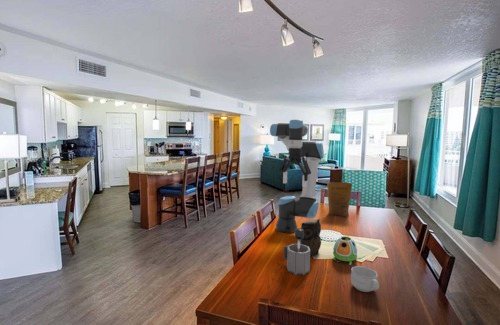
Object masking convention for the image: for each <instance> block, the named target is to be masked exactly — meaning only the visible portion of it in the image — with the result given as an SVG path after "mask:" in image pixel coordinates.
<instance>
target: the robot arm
mask: <svg viewBox="0 0 500 325" xmlns="http://www.w3.org/2000/svg"><path fill="white" fill-rule="evenodd" d="M308 132H309V128H308V126H307V125H306V124H304V120H302V119H290V120H289V123H272V124H271V125H270V128H269V134H270V135H271V137H277V138H278V139H279V140H280V141H281V142H282V143H283V145H284V146H285V147H286V150H287V151H288V154H286V155H284V156H283V157H284V158H283V161H282V163H281V165H280V168H279V171H281V172H282V174H281V175H282V184H288V170H289V168H290V167H291V166H292V165H297V166H298V168H299V169H300V170H301V172H302V181H301V182H302V184H301V186H302V189H301V190H302V191H301V195H300V196H299V197H298V199H297V197H296V196H292V195H287V196H282V197H280V198H279V201H278V218H277V221H276V224H275V230H276V231H278V232H280V233H285V234H286V233H287V234H290V233H295V229H296V228H298V224H297V221H296V217H299V218H305V219H314V218H315V217H316V216H317V214H318V210H319V202H318V201H317V197H315V194H316V188H317V187H316V186H317V185H316V184H317V178H318V177H317V176H318V168H319V163H320V162H321V160H322V159H324V156H325V151H324V150H325V149H324V144H323V142H321V141H306V140H305V141H303V137H305V136H307V135H308Z"/></svg>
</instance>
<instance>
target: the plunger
mask: <svg viewBox="0 0 500 325" xmlns="http://www.w3.org/2000/svg"><path fill="white" fill-rule="evenodd" d="M303 238H304V229H301V227H300V228H299V227H297V228H296V229H295V232H294V239H295V240H296V239H297V244H298V250H297V252H300V239H303Z"/></svg>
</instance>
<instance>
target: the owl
mask: <svg viewBox="0 0 500 325" xmlns="http://www.w3.org/2000/svg"><path fill="white" fill-rule="evenodd" d="M300 228H301V229H304V238H303V239H300V244H303V245H306V246H308V247H309V248H310V258H312V257H315V256H318V255H319V251H320V249H321V245H322V240H321V239H322V237H321V235H320V234H321V231H322V226H321V223H320V218H316V219H311V220H307V221H304V222H302V223H301V227H300Z"/></svg>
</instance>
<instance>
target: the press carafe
mask: <svg viewBox="0 0 500 325" xmlns="http://www.w3.org/2000/svg"><path fill="white" fill-rule="evenodd" d="M297 250H298V243H291V244H289V245H284V246H283V260H285V261H286V270H287V272H289V273H290V274H293V275H294V276H295V275H297V276H305V275H308V274H309V273H310V272H311V269H310V268H311V257H310V248H309V247H308V246H306V245H303V244H300V252H297Z"/></svg>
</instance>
